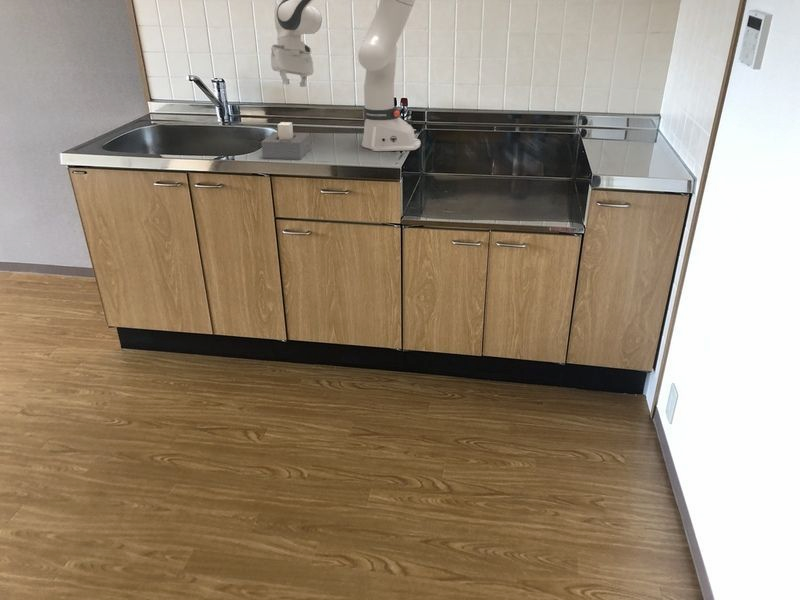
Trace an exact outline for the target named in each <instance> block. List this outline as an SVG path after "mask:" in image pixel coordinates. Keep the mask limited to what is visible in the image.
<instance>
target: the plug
mask: <svg viewBox="0 0 800 600" xmlns="http://www.w3.org/2000/svg"><path fill="white" fill-rule="evenodd" d="M277 132H278V135H279V139H281V140H292V139H293V133H294V129H293V122H289V121H287V122H286V121H280V122H279V123H277Z"/></svg>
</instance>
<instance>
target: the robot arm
mask: <svg viewBox="0 0 800 600" xmlns="http://www.w3.org/2000/svg"><path fill="white" fill-rule="evenodd" d="M415 1H416V0H380V1H379V4H378V6H377V8H376V9H377V10H376V12H375V14H374V16H373V19H372V21H371V22H370V24H369V27H368V29H367V31H366V33H365V36H364V38H363V40H362V41H361V46H360V47H359V49H358V53H357V54H358V55H357V57H358V58H357V59H358V63H359V64H360V65H361V67H362V68H363V69H365V76H364V77H365V78H364V83H363V99H364V103H363V104H364V107H363V110H362V111H363V112H362V115H363V117H362V118H363V124H364V128H363V129H364V130H363V137H362V141H361V146H362V147H363V148H365V149H369V150H371V151H374V152H390V151H391V152H392V151H393V152H395V151H397V152H398V151H415V150H418V149H419V148H420V147H421V144H422V143H421V142H422V141H421V140H420V139H419V138H416V135H415V130H414V127H413V126H412V125H410V124H409V123H408V122H406V121H405V120H404V119H403V118H401V117H400V115H401V114H400V111H401V110H400V107H396V106H395V79H396V78H395V75H396V64H397V63H396V62H397V50H398V49H397V43H398V41H399V40H400V39H399V38H400V37H401V35H402V32H403V30H404V29H405V27H406V25H407V22H408V20H409V18H410V17H409V16H410V14H411V12H412V9H413V7H414V4H415ZM312 2H314V0H281V1H279V2H277V3H276V4H275V6H274V24H275V30H276V33H277V37H276V38H277V39H276V40H277V43H274V44H272V45H271V48H270V49H271V52H270V63H271V64H270V66H271V69H272V70H273V71H274V72H278V73H279V75H280V77H281V79H282V83H283V85H285V86H287V85H290V79H289V78H288V77H287V74H292V75H297V76H300V79H301V80H300V82H299V87H301V88H305V87H307V79H308V77H309V76H313V74H314V63H313V62H314V61H313V57H312V56H311V54H312V49H311V47H310V46H308V45H307V44H306V43H305V42H304V41H303V40H302V35H311V34H313V35H314V34H315V33H317V32H318V31H319V30H320V28H321V26H322V20H323V19H322V14H321V12H320V10H319V9H318V8H317V7H315V6H313V5H312V6H311V5H310V4H311V3H312Z"/></svg>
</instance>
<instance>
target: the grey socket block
mask: <svg viewBox="0 0 800 600" xmlns="http://www.w3.org/2000/svg"><path fill="white" fill-rule="evenodd" d="M260 143H261V152H262V159H265V160H266V159H269V160H271V159H274V160H300V161H301V160H302V159H303V158H304V157H305V156H306V155H307V154H308V152H309V151H310V150H311V149H312V148H311V147H312V146H311V134H310V132H293V139H292V140H281V139H279V135H278V131H277V132H275V131H273V132H271V133H270V134H268V136H267V137H265V138H264V139H263V140H261V142H260Z"/></svg>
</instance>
